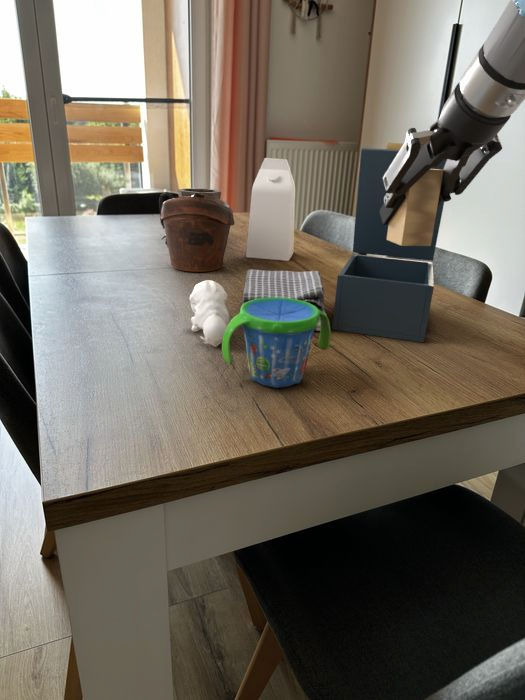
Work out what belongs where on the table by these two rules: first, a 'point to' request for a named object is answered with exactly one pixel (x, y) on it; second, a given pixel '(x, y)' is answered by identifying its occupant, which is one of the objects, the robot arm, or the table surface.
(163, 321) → the table surface
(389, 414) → the table surface
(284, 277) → the towel
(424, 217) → the beech block
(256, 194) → the milk
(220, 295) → the white animal figurine
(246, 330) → the snack cup
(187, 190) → the mug
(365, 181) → the chest lid
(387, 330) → the chest
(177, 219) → the brown pot
